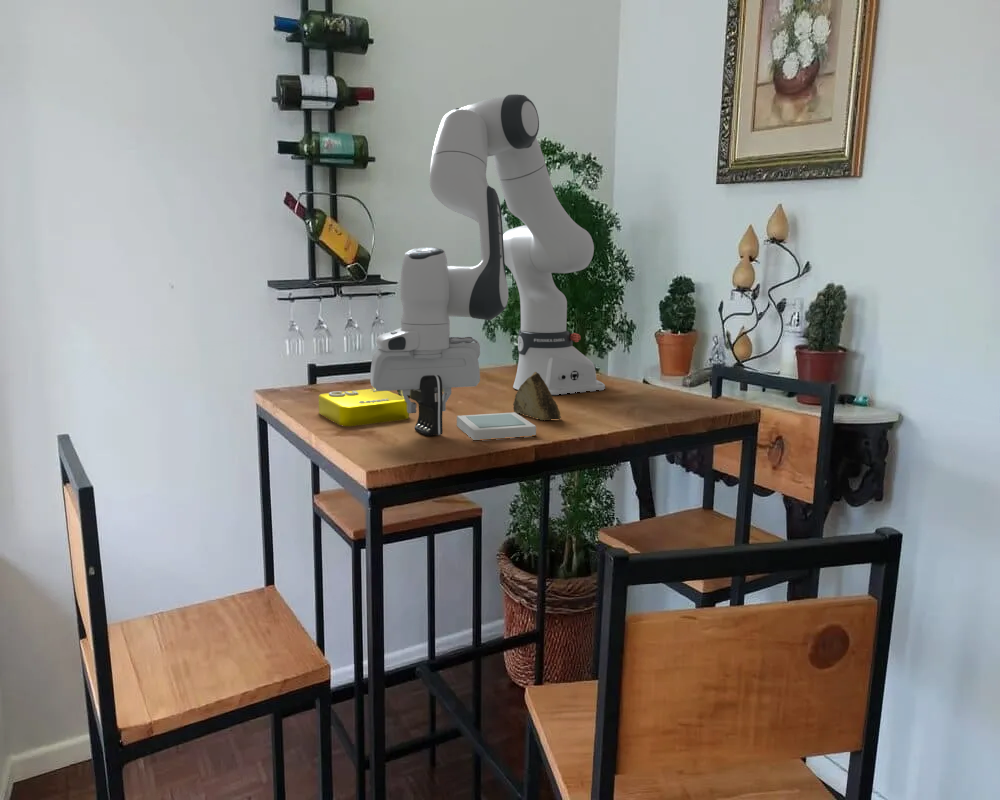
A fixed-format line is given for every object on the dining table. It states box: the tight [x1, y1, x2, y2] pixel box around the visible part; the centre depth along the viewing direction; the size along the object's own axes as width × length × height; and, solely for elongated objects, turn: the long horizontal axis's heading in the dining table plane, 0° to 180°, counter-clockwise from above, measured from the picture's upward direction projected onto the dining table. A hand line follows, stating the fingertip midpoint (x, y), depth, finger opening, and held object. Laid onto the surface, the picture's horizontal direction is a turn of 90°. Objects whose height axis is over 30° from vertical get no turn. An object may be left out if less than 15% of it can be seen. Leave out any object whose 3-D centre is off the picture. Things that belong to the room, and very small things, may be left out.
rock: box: [512, 372, 562, 421], centre depth 161 cm, size 11×9×10 cm
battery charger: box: [409, 375, 443, 437], centre depth 145 cm, size 7×4×11 cm, turn 33°
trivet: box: [456, 411, 537, 441], centre depth 148 cm, size 12×12×2 cm
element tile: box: [317, 388, 410, 427], centre depth 160 cm, size 15×15×5 cm
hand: (426, 411), depth 146 cm, fingers closed on battery charger, 4 cm apart
